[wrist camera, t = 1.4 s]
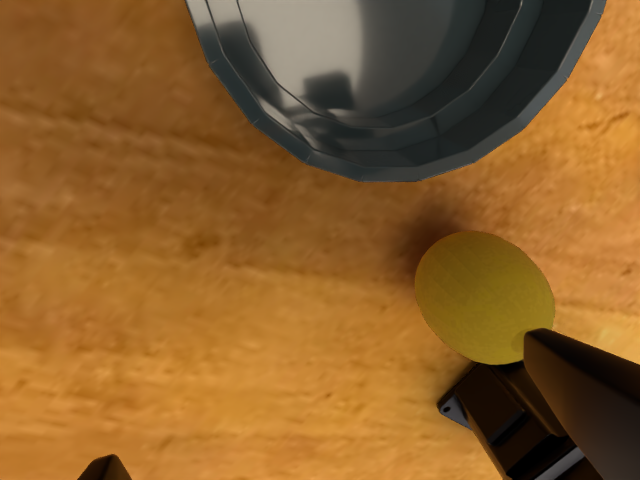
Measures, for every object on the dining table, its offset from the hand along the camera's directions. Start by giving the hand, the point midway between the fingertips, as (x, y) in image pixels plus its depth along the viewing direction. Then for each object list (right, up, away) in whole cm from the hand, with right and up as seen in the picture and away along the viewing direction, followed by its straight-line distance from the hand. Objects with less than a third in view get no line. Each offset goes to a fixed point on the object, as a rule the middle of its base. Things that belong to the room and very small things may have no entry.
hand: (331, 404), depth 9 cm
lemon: (+6, +3, +15) cm, 16 cm away
